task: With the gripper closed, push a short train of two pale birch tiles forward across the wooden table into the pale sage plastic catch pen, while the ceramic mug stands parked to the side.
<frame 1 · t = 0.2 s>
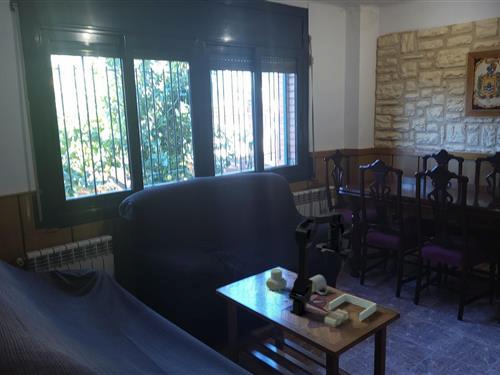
hand: (333, 266, 215), 14 cm above the table, fingers open, 9 cm apart
catch pen: (352, 310, 199), on the table
tile 1: (332, 323, 187), on the table
tile 2: (339, 318, 192), on the table
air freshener: (276, 288, 224), on the table
ceramic mug: (318, 291, 220), on the table
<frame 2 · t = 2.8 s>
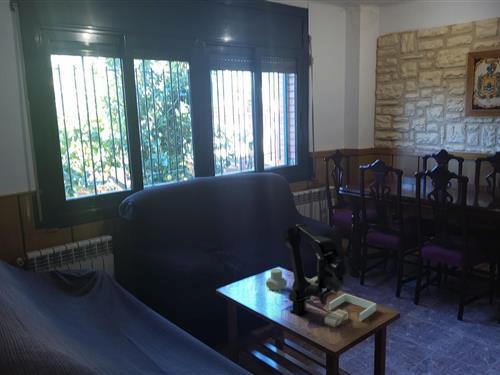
hand: (323, 304, 180), 12 cm above the table, fingers closed
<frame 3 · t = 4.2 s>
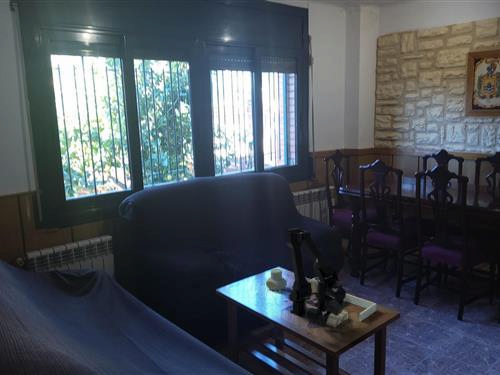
hand: (323, 326, 182), 1 cm above the table, fingers closed
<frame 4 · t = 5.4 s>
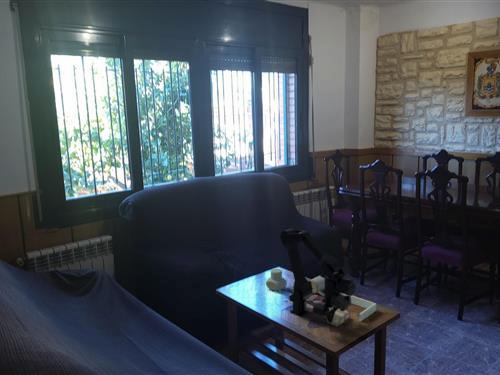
hand: (330, 322, 186), 1 cm above the table, fingers closed
tile 1: (335, 322, 188), on the table, touching gripper, tile 2
tile 2: (340, 318, 192), on the table, touching tile 1
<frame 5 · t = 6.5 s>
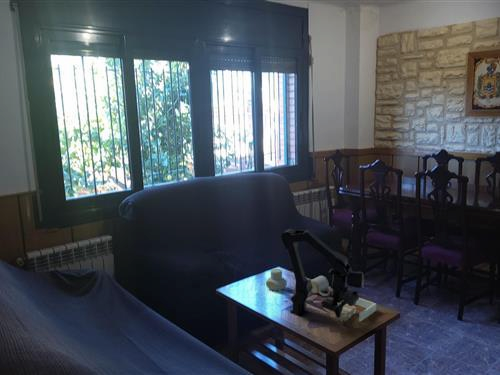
hand: (338, 317, 190), 1 cm above the table, fingers closed
tile 1: (343, 317, 193), on the table, touching gripper, tile 2
tile 2: (347, 313, 197), on the table, touching tile 1
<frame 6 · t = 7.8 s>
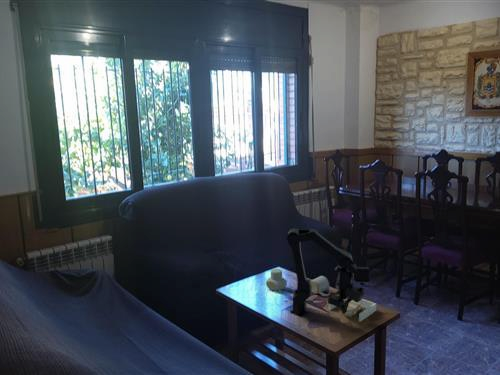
hand: (344, 313, 194), 1 cm above the table, fingers closed
tile 1: (348, 314, 196), on the table
tile 2: (353, 309, 200), on the table
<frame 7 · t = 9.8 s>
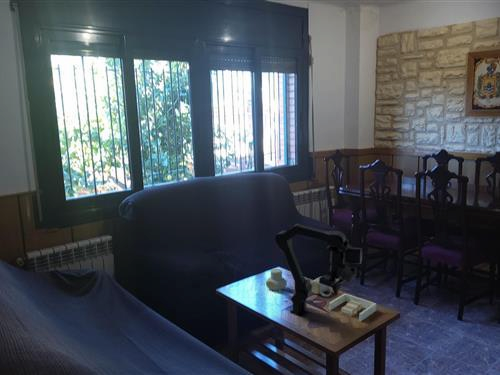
hand: (336, 294, 189), 12 cm above the table, fingers closed
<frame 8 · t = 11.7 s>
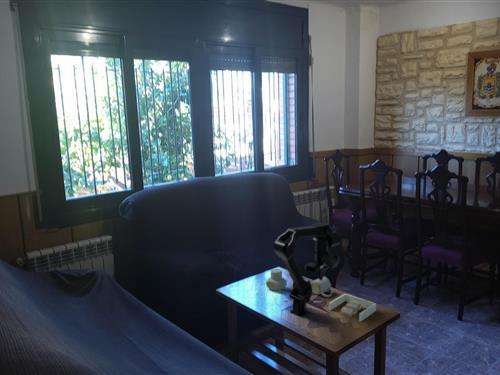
hand: (320, 280, 204), 12 cm above the table, fingers closed
at the end: tile 1 inside the target area on the catch pen (3.4 cm from its centre), point 0.0 cm above the catch pen's base; tile 2 inside the target area on the catch pen (1.7 cm from its centre), point 0.0 cm above the catch pen's base; tile 2 moved 12.2 cm from its start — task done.
